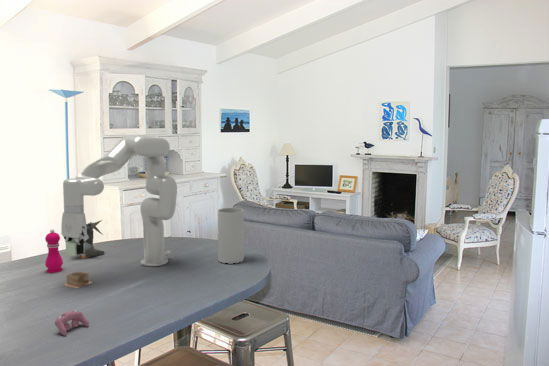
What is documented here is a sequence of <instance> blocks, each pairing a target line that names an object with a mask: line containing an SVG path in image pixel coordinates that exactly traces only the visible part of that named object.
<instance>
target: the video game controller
mask: <svg viewBox="0 0 549 366" xmlns="http://www.w3.org/2000/svg"><path fill="white" fill-rule="evenodd" d="M70 321H71V322H70ZM69 322H70V323H69ZM80 323H81V324H82V325H83V326H85V327H86V328H87V327H89V325H90V324H89V320H88V319H87V317H86V316H85V314H84V313H83V312H81V310H79V309H78V310H69V311H66V312H64V313H62V314H60V315H59V316H58V317H57V318H55V321H54V325H55V327H56V328H57V329H58V331H59V333H60V334H61V335H62V336H67V333H68V332H67V331H70V329H71V327H72V328H77V327H78V326H79V324H80Z"/></svg>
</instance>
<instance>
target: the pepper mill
mask: <svg viewBox="0 0 549 366" xmlns="http://www.w3.org/2000/svg"><path fill="white" fill-rule="evenodd" d="M44 240H45V242H46V243H47V244H46V247H47V252H48V254H47V256H46V259H45V263H44V264H45V265H44V266H45V267H46V268H47V269H46V273H49V274H56V273H59V272H62V271H63V268H62V266H63V265H64V261H63V258H62V256H61V254H60V252H59V251H60V250H59V247H60V240H61V236H60V234H59V233H57V232H55V229H50V231H49V233H47V234H46V235H45V238H44Z"/></svg>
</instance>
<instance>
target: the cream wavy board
mask: <svg viewBox="0 0 549 366" xmlns="http://www.w3.org/2000/svg"><path fill="white" fill-rule="evenodd" d="M92 283H93V281H89V283H86V284H84V285H81V286H78V287H75V286H71V285H67V283H64V284H63V286H66V287H70V288H74V289H79V288H81V287H84V286H87V285H89V284H92Z"/></svg>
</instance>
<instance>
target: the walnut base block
mask: <svg viewBox="0 0 549 366" xmlns="http://www.w3.org/2000/svg"><path fill="white" fill-rule="evenodd" d="M89 282H90V277H89V272H83V271H79V270H78V271H75V272H72V273H69V274H66V284H67V285H71V286H75V287H78V286H81V285H84V284H86V283H89ZM84 286H85V285H84Z"/></svg>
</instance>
